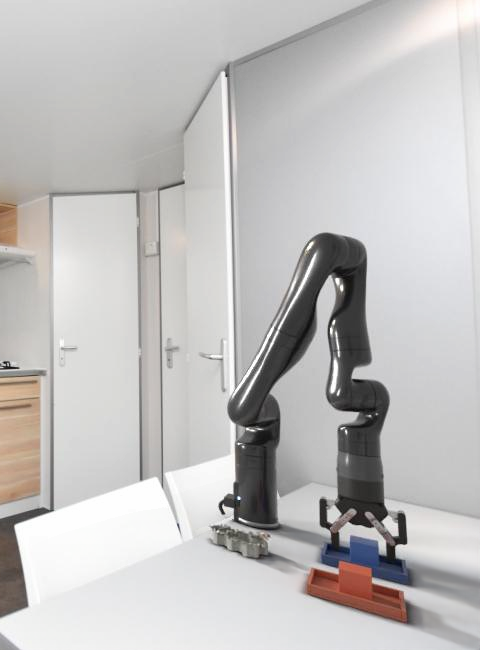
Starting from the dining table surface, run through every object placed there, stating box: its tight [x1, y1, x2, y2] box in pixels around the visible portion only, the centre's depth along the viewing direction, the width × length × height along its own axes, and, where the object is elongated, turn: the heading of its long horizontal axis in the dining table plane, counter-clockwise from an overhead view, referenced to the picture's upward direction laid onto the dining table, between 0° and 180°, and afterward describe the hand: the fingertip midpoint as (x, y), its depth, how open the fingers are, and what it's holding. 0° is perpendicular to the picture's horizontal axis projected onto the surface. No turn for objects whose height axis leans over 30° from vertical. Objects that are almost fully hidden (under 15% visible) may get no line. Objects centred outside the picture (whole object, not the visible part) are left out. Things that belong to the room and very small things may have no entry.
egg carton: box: [208, 523, 271, 559], centre depth 105 cm, size 11×8×4 cm
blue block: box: [349, 534, 380, 568], centre depth 97 cm, size 4×4×4 cm
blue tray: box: [320, 541, 409, 586], centre depth 97 cm, size 13×9×2 cm
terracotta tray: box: [306, 566, 408, 623], centre depth 84 cm, size 13×9×2 cm
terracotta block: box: [338, 561, 373, 601], centre depth 84 cm, size 4×4×4 cm
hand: (362, 556), depth 97 cm, fingers open, 7 cm apart
